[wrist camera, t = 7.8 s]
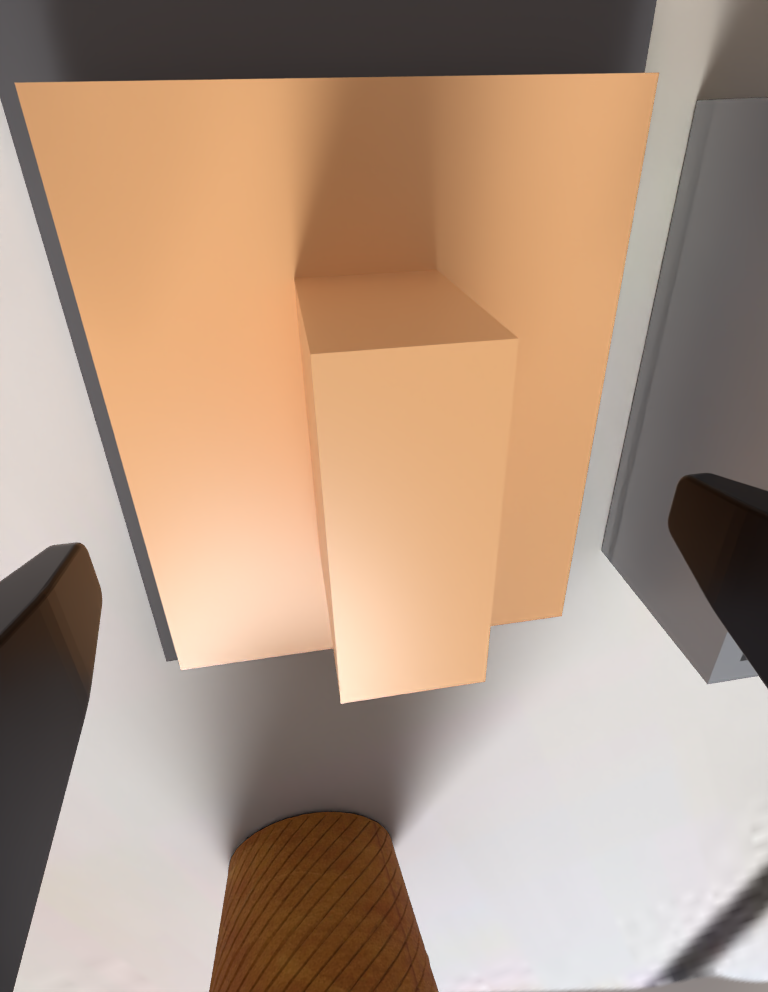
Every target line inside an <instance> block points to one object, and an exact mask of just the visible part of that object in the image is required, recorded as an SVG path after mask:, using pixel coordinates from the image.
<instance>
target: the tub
mask: <svg viewBox="0 0 768 992" xmlns="http://www.w3.org/2000/svg"><path fill="white" fill-rule="evenodd" d="M697 473H712V474H715V475H719V476H722V477H725V478H728V479H731V480H735V481H738V482H741V483H744V484H747V485H750V486H754V487H757V488H760V489H763V490H766V491H768V97H760V98H739V99H717V100H697V104H696V108H695V113H694V118H693V122H692V127H691V132H690V137H689V141H688V146H687V151H686V155H685V160H684V165H683V170H682V174H681V179H680V184H679V188H678V193H677V198H676V202H675V207H674V212H673V217H672V221H671V226H670V231H669V235H668V240H667V245H666V250H665V254H664V259H663V264H662V268H661V273H660V278H659V282H658V287H657V292H656V297H655V301H654V306H653V311H652V315H651V320H650V325H649V330H648V334H647V339H646V344H645V348H644V353H643V358H642V362H641V367H640V372H639V377H638V381H637V386H636V391H635V395H634V400H633V405H632V410H631V414H630V419H629V424H628V428H627V433H626V438H625V442H624V447H623V452H622V457H621V461H620V466H619V471H618V475H617V480H616V485H615V490H614V494H613V499H612V504H611V508H610V513H609V518H608V522H607V527H606V532H605V537H604V541H603V546H602V552H603V553H604V555H605V556H606V557H607V558H608V560H609V561H610V562H611V563H612V565H613V566H614V567H615V568H616V570H617V571H618V572H619V573H620V575H621V576H622V577H623V578H624V580H625V581H626V582H627V584H628V585H629V586H630V587H631V589H632V590H633V591H634V592H635V594H636V595H637V596H638V597H639V599H640V600H641V601H642V602H643V604H644V605H645V606H646V607H647V609H648V610H649V611H650V612H651V614H652V615H653V616H654V617H655V619H656V620H657V621H658V623H659V624H660V625H661V626H662V628H663V629H664V630H665V631H666V633H667V634H668V635H669V636H670V638H671V639H672V640H673V641H674V643H675V644H676V645H677V646H678V648H679V649H680V650H681V651H682V653H683V654H684V655H685V657H686V658H687V659H688V660H689V662H690V663H691V664H692V665H693V667H694V668H695V669H696V670H697V672H698V673H699V674H700V675H701V677H702V678H703V679H704V680H705V682H706V683H707V684H712V683H718V682H724V681H730V680H736V679H742V678H749V677H755V676H758V674H757V673H756V671H755V670H754V668H753V667H752V666H751V664H750V663H749V661H748V660H747V659H746V657H745V656H744V654H743V653H742V651H741V650H740V649H739V647H738V646H737V644H736V643H735V641H734V640H733V639H732V637H731V636H730V634H729V633H728V631H727V630H726V629H725V627H724V626H723V624H722V623H721V621H720V620H719V618H718V617H717V615H716V614H715V612H714V611H713V609H712V608H711V606H710V604H709V603H708V601H707V599H706V598H705V596H704V594H703V592H702V590H701V589H700V587H699V585H698V583H697V581H696V580H695V578H694V576H693V574H692V573H691V571H690V569H689V567H688V565H687V564H686V562H685V560H684V558H683V556H682V555H681V553H680V551H679V549H678V547H677V546H676V544H675V542H674V540H673V538H672V537H671V535H670V532H669V529H668V515H669V512H670V508H671V505H672V501H673V497H674V494H675V490H676V486H677V483H678V481H679V480H680V478H681V477H683V476H685V475H689V474H697Z"/></svg>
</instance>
